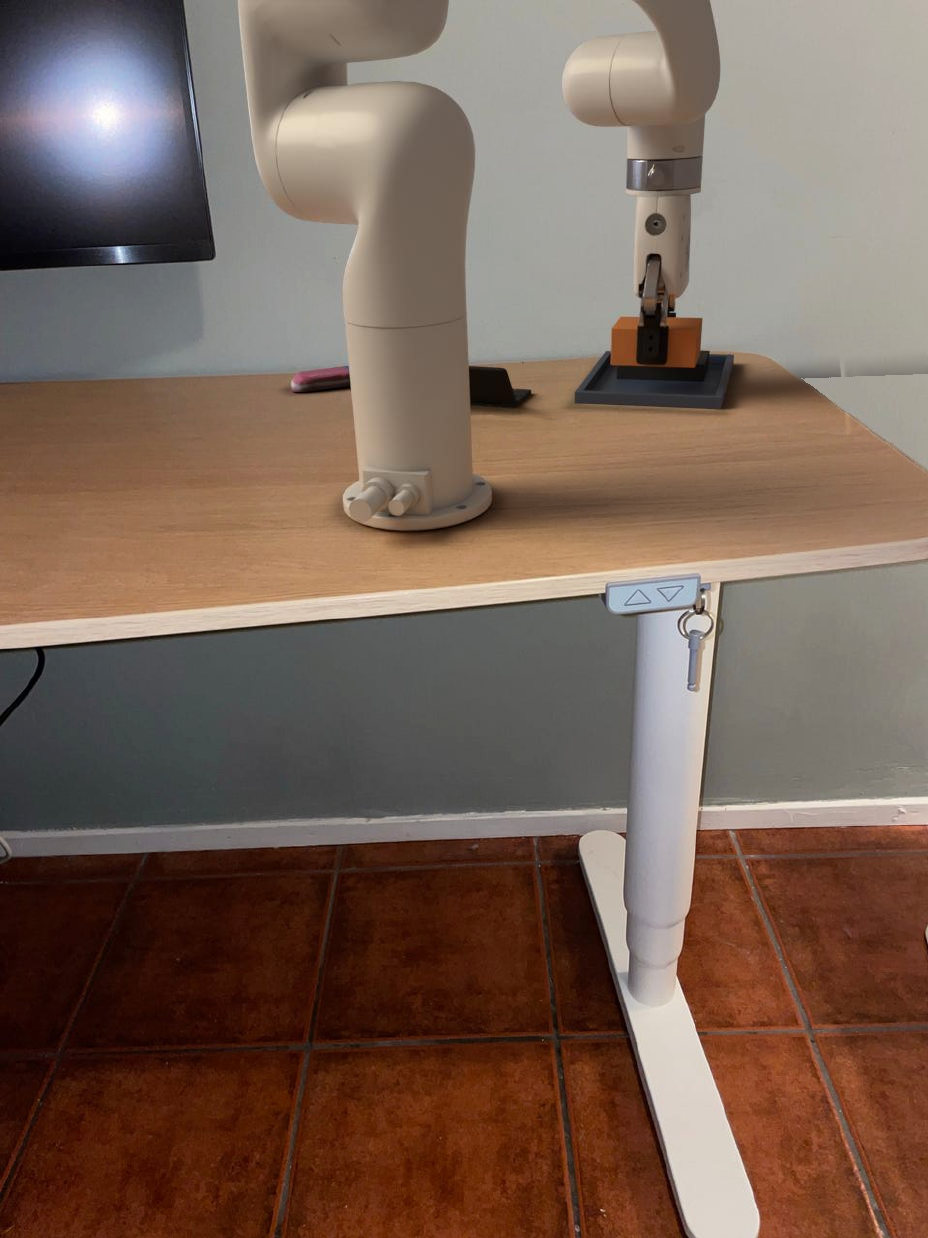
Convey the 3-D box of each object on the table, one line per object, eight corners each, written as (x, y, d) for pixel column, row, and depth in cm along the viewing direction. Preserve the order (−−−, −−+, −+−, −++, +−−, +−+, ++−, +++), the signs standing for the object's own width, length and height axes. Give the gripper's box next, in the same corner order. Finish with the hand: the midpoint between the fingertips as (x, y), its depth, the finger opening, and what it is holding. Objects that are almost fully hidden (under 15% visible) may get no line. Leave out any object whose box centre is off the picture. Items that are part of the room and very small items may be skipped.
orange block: (694, 367, 106) (697, 329, 104) (610, 365, 108) (611, 327, 107) (700, 354, 111) (702, 317, 109) (619, 352, 113) (620, 316, 112)
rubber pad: (703, 381, 114) (704, 364, 114) (616, 378, 117) (616, 361, 116) (708, 367, 120) (709, 350, 119) (625, 364, 123) (626, 348, 122)
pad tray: (720, 413, 105) (722, 397, 104) (574, 407, 109) (574, 391, 108) (733, 368, 121) (734, 354, 121) (605, 364, 126) (605, 350, 125)
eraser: (293, 394, 119) (291, 380, 118) (289, 386, 122) (287, 371, 121) (386, 382, 121) (384, 367, 120) (379, 374, 124) (378, 360, 124)
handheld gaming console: (533, 377, 114) (513, 318, 106) (531, 429, 111) (510, 373, 103) (437, 390, 117) (410, 333, 109) (433, 441, 114) (404, 387, 106)
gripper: (693, 184, 93) (681, 377, 101) (708, 169, 107) (698, 339, 116) (612, 186, 95) (608, 375, 103) (638, 171, 109) (633, 337, 118)
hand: (655, 354), depth 109 cm, fingers closed on orange block, 6 cm apart
